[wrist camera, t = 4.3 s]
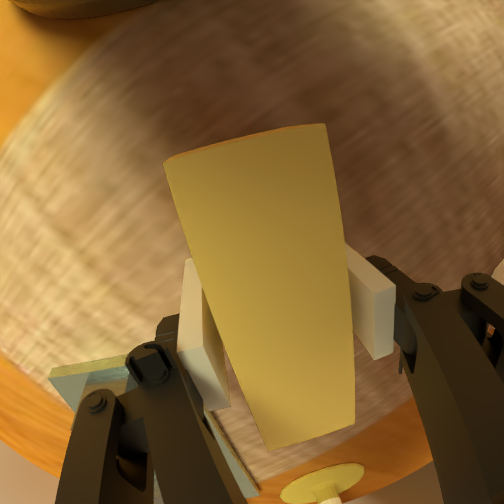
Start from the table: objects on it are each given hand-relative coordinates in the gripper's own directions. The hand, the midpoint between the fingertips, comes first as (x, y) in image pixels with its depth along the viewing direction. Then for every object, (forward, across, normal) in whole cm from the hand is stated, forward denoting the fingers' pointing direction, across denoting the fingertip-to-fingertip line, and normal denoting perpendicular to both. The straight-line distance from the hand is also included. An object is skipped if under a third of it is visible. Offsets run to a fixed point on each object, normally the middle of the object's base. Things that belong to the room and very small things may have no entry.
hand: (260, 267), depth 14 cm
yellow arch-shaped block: (+1, 0, 0) cm, 1 cm away
